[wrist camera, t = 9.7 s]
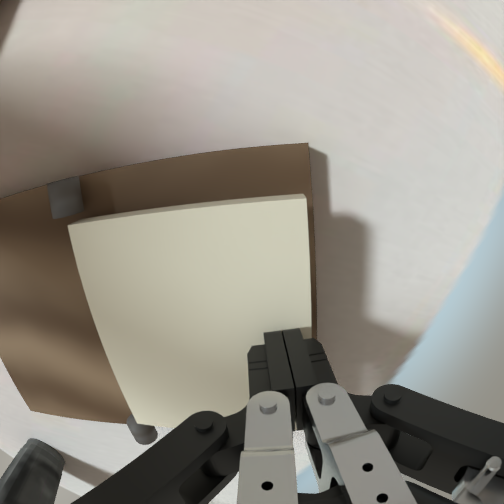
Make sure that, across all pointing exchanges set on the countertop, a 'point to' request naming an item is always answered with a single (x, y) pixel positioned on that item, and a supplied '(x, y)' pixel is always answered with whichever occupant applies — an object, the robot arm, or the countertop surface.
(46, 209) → the walnut board
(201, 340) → the tile
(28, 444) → the beverage cup
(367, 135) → the countertop surface
